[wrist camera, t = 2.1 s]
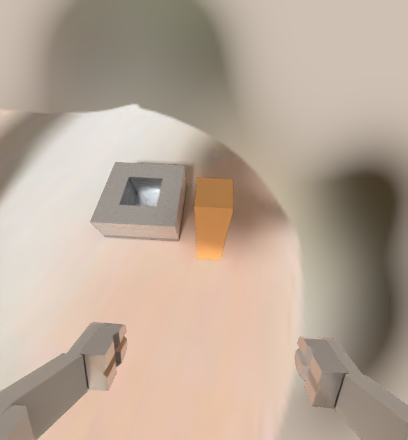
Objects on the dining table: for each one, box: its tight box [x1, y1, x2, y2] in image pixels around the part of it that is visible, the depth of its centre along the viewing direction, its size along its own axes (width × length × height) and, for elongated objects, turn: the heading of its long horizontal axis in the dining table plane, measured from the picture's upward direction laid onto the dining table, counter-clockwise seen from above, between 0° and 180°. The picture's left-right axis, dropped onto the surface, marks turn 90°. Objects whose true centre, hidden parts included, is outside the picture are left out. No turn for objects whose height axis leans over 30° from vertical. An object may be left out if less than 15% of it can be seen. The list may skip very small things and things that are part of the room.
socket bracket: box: [90, 162, 187, 241], centre depth 31 cm, size 12×12×5 cm
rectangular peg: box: [194, 177, 233, 260], centre depth 24 cm, size 4×4×14 cm
